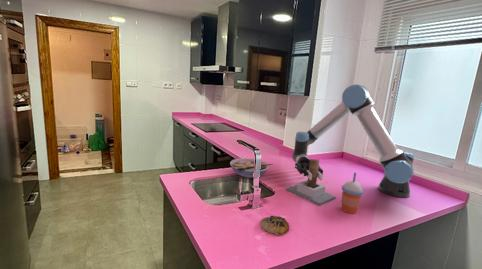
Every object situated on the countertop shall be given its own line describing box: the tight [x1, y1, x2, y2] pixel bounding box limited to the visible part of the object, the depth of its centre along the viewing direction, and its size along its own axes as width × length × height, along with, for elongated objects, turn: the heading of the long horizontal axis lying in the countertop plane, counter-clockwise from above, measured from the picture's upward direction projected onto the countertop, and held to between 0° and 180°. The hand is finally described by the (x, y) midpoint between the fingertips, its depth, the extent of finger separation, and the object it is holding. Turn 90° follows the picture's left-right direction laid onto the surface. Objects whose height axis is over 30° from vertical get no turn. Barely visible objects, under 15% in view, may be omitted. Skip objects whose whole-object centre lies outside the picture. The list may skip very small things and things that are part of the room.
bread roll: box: [259, 215, 290, 236], centre depth 96 cm, size 11×11×5 cm
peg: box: [306, 158, 320, 188], centre depth 126 cm, size 4×4×16 cm
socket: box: [285, 179, 336, 207], centre depth 128 cm, size 20×14×5 cm
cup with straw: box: [341, 172, 365, 214], centre depth 113 cm, size 9×9×18 cm
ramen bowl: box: [229, 157, 273, 179], centre depth 147 cm, size 25×23×8 cm
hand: (316, 177), depth 121 cm, fingers closed on peg, 4 cm apart
